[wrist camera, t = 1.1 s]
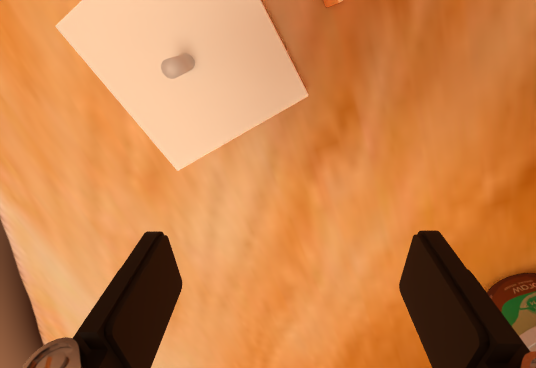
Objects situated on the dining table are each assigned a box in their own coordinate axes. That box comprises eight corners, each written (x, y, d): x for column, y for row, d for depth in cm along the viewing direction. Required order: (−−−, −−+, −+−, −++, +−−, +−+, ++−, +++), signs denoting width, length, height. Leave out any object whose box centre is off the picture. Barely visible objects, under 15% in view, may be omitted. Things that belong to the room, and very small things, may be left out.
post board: (208, -105, 22) (182, -149, 16) (307, 91, 30) (312, 107, 24) (69, 26, 27) (14, 26, 22) (182, 163, 35) (163, 190, 29)
